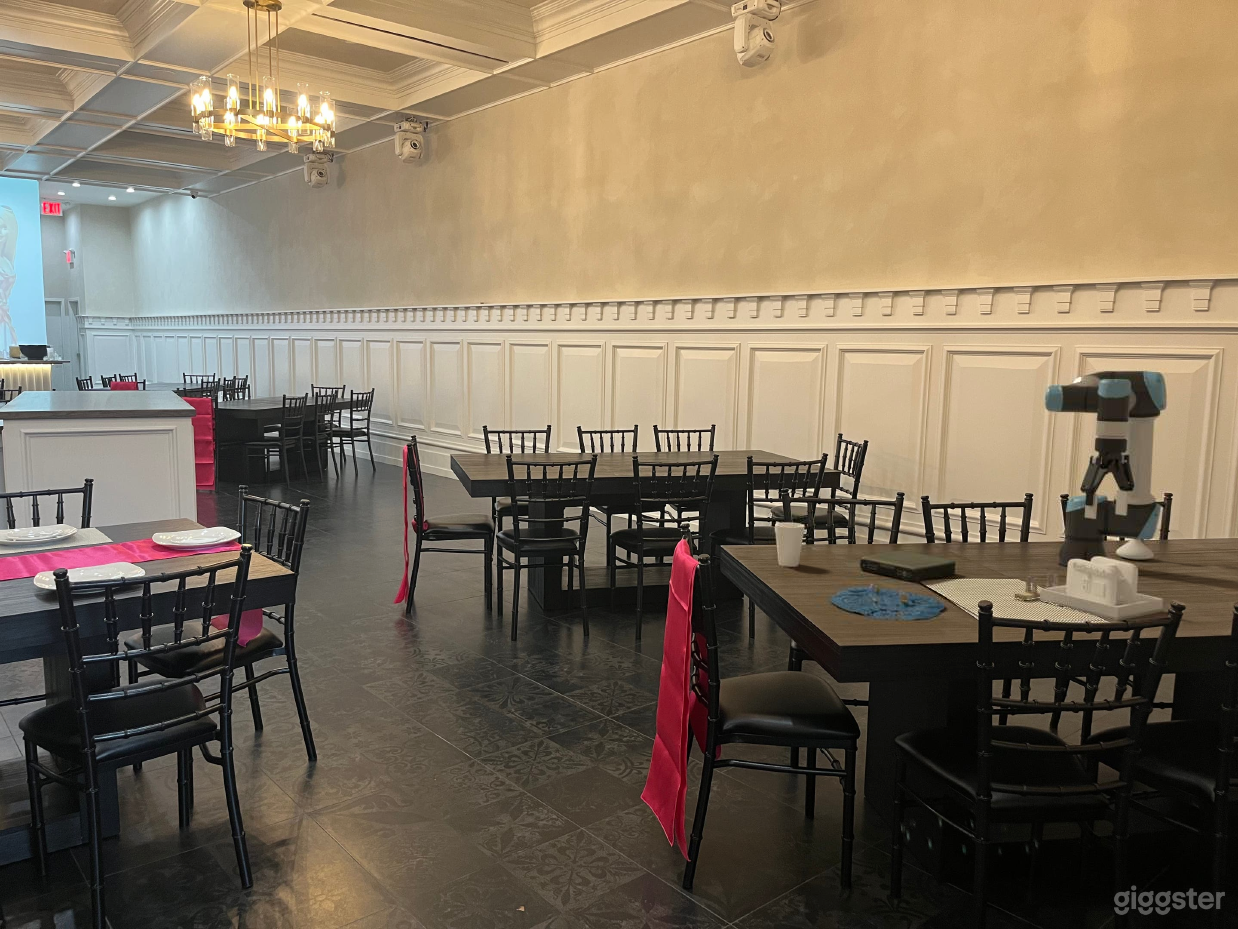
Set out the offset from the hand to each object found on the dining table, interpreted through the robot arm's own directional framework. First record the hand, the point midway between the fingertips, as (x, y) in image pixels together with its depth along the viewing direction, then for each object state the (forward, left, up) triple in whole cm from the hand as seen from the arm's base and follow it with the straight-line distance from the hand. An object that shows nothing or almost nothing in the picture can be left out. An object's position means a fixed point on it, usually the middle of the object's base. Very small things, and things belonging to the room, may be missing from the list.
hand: (1105, 516), depth 244 cm
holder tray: (0, 0, -25) cm, 25 cm away
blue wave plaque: (+51, -27, -25) cm, 63 cm away
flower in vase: (-75, -35, -25) cm, 86 cm away
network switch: (+15, -54, -25) cm, 62 cm away
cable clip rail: (0, -14, -25) cm, 29 cm away
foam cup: (+41, -80, -25) cm, 93 cm away
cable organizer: (0, 0, -24) cm, 24 cm away
